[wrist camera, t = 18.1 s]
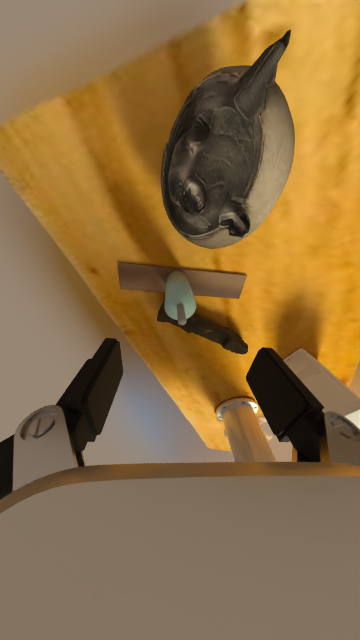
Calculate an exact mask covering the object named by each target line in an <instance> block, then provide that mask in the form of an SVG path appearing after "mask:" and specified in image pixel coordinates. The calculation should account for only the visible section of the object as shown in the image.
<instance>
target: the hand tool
mask: <svg viewBox="0 0 360 640" xmlns="http://www.w3.org/2000/svg"><path fill="white" fill-rule="evenodd" d="M164 306H165V301H164V302H163V304H162V306H161V308H160V310H159V311H158V318H157V321H159V322H169V323H171V324H173V325H176V326H179V327H181V328H182V329H184V330H185V331H187V333H191V332H192V333H194V334H197V335H200V336H202V337H204V338H206V339H209V340H211V341H214V342H216V343H218V344H221V345H222V347H223V348H224V349H227V350H230V351H231V352H235V353H237V354H238V353H239V354H246V353H247V352H248V345H247V344H246V343H245V342H244V341H243V340H242V339H241V338H240V337H239V336H238V335H237V334H236V333H234V332H233V331H231V330H230V329H229V328H226V327H225V328H223V327H221V326H219V325H218V324H216V323H214V322H212V321H210V320H209V319H206V318H204V317H202V316H200V315H198V314H196V313H193V315H192V316H191V317H189V318H187V319H186V320H187V322H186V324H185V325H179V324H178V320H175V319H172V318H171V317H169V316H168V315H167V313H166V311H165V307H164Z"/></svg>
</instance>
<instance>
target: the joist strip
mask: <svg viewBox="0 0 360 640" xmlns="http://www.w3.org/2000/svg"><path fill="white" fill-rule="evenodd" d="M118 269H119V279H120V288H121V289H129V290H141V291H152V292H164V293H166V282H167V277H168V275H169V274H170V273H171V272H173V271H181V272H183V273H184V274H185V275H186V276H187V279H188V281H189V284H190V287H191V290H192V293H193V295H200V296H212V297H224V298H236V299H239V297H240V294H241V291H242V288H243V285H244V282H245V280H246V277H247V275H239V274H229V273H219V272H210V271H200V270H190V269H180V268H170V267H160V266H150V265H140V264H130V263H121V262H118Z"/></svg>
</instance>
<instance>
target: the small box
mask: <svg viewBox="0 0 360 640" xmlns="http://www.w3.org/2000/svg"><path fill="white" fill-rule="evenodd" d="M283 361H284V362H285V363H286V364H287V365H288V367H289V368H290V369H291V370H292V371H293V372H294V373H295V374H296V376H297V377H298V378H299V379H300V380H301V381H302V382H303V384H304V385H305V386H306V387H307V388H308V389H309V390H310V391H311V393H312V394H313V395H314V396H315V397H316V398H317V399H318V401H319V402H320V403H321V404H322V405H323V406H324V407H325V408H324V409H323V410H322V411H323V412H324V413H326V412H327V411H332V412H336V413H338V414H341V415H342V416H344V417H346V418H347V419H349V420H350V421H351V422H353V423H354V424H355V425H356V426H357V427H358V428H360V398H359V397H358V396H357V395H355V393H353V392H352V391H351V390H350V389H349V388H348V387H347V386H346V385H345V384H343V383H342V382H341V381H340V380H339V379H338V378H337V377H336V376H334V375H333V374H332V373H331V372H330V371H329V370H328V369H327V368H326V367H324V366H323V365H322V364H321V363H320V362H319V361H318V360H317V359H315V358H314V357H313V356H311V355H310V354H309V353H308V352H306V351H305V350H304V349H302V348H300V349H298V350H297V351H295V352H294V353H292V354H291V355H289V356H288V357H287V358H285V359H284V360H283Z"/></svg>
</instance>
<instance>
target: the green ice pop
mask: <svg viewBox="0 0 360 640" xmlns="http://www.w3.org/2000/svg"><path fill="white" fill-rule="evenodd" d="M164 307H165V311H166V313H167V315H168V316H169V317H171V318H172V319H175V320H178V324H179V325H185V324H186V322H187V320H186V319H187V318H189V317H191V316H192V315H193V313H194V312H195V309H196V302H195V299H194V296H193V293H192V290H191V287H190V284H189V281H188V279H187V276H186V275H185V274H184V273H183V272H181V271H173V272H171V273H170V274H169V275H168V277H167V282H166V294H165V306H164Z"/></svg>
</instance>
